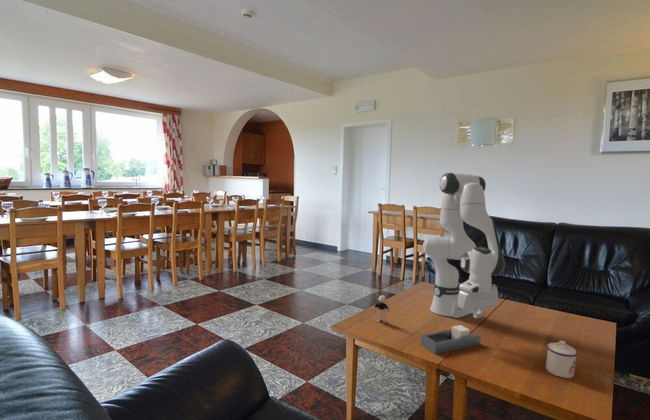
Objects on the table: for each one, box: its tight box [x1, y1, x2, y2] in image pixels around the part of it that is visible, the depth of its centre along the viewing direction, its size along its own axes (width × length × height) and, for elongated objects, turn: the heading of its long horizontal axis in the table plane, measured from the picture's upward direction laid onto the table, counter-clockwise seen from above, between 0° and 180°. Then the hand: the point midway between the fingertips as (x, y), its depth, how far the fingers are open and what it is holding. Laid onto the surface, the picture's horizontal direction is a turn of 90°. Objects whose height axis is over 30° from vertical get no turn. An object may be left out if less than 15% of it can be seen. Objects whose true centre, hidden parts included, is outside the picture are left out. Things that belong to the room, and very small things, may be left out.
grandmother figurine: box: [372, 294, 390, 324], centre depth 171 cm, size 8×4×13 cm, turn 84°
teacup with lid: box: [545, 340, 578, 379], centre depth 132 cm, size 12×9×12 cm
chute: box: [420, 326, 482, 355], centre depth 150 cm, size 24×9×4 cm, turn 114°
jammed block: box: [451, 324, 471, 339], centre depth 152 cm, size 5×5×5 cm
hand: (477, 317), depth 154 cm, fingers closed
